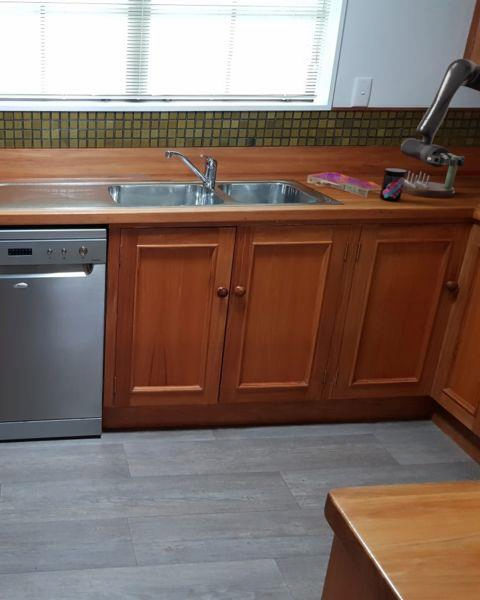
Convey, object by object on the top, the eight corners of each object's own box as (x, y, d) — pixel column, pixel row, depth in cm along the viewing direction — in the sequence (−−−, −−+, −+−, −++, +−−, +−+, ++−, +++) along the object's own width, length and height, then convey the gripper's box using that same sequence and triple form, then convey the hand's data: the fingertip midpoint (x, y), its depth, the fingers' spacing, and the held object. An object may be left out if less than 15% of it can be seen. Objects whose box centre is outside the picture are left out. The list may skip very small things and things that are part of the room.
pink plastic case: (393, 196, 220) (396, 181, 218) (360, 198, 215) (363, 184, 213) (334, 179, 246) (336, 166, 244) (304, 181, 241) (306, 168, 239)
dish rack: (443, 184, 232) (451, 152, 228) (461, 194, 217) (470, 160, 212) (395, 182, 235) (402, 150, 230) (410, 192, 219) (418, 158, 215)
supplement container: (375, 199, 215) (382, 169, 211) (383, 196, 219) (390, 167, 215) (395, 202, 210) (402, 172, 206) (403, 200, 215) (410, 170, 210)
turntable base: (452, 190, 230) (453, 186, 230) (455, 200, 215) (456, 196, 215) (399, 185, 237) (400, 181, 237) (399, 194, 223) (400, 190, 222)
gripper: (418, 145, 233) (440, 152, 217) (455, 145, 233) (480, 153, 217) (414, 164, 236) (435, 173, 220) (450, 165, 236) (475, 174, 220)
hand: (458, 163), depth 219 cm, fingers closed on dish rack, 2 cm apart
